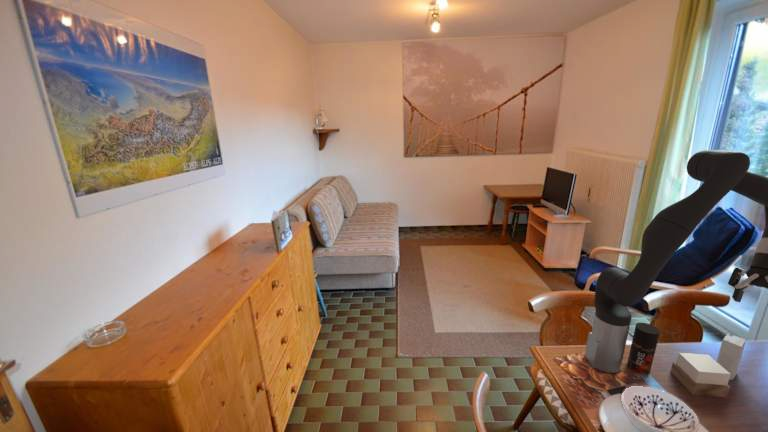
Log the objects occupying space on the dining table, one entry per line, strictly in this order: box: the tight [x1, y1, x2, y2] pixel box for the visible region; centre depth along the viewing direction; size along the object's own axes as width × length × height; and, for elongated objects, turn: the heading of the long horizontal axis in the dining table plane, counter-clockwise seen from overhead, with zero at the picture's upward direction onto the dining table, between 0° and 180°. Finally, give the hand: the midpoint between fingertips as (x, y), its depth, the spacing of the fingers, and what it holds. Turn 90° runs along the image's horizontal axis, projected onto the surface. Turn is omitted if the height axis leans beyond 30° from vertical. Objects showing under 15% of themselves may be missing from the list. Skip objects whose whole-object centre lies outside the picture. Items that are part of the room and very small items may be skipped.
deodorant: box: [626, 322, 661, 376], centre depth 102 cm, size 6×6×15 cm
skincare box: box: [716, 333, 747, 381], centre depth 100 cm, size 6×4×12 cm
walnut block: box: [670, 361, 731, 398], centre depth 97 cm, size 9×9×4 cm
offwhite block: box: [675, 352, 731, 385], centre depth 96 cm, size 8×8×4 cm
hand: (755, 306), depth 96 cm, fingers open, 8 cm apart
